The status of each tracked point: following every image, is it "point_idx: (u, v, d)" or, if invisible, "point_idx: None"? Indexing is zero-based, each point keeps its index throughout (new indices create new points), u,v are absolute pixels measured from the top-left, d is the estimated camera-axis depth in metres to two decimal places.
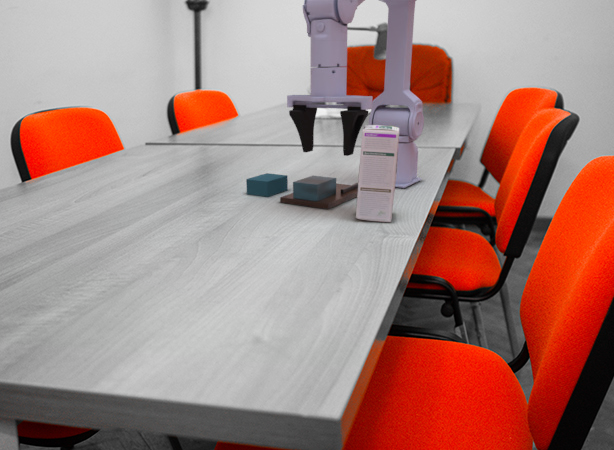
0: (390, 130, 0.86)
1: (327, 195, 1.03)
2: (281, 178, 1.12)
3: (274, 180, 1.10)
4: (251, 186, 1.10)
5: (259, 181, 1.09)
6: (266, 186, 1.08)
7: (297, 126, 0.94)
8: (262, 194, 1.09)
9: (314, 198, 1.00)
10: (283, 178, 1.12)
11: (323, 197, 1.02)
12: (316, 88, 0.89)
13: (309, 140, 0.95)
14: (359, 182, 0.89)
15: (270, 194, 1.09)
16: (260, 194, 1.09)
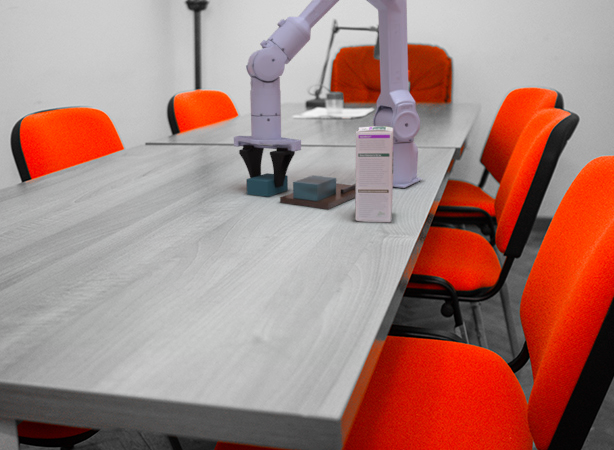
0: (383, 131, 0.86)
1: (327, 195, 1.03)
2: None
3: None
4: (251, 186, 1.10)
5: (259, 181, 1.09)
6: (266, 186, 1.08)
7: (246, 163, 1.12)
8: (262, 194, 1.09)
9: (314, 198, 1.00)
10: None
11: (323, 197, 1.02)
12: (255, 132, 1.07)
13: (257, 174, 1.13)
14: (356, 184, 0.89)
15: (270, 194, 1.09)
16: (260, 194, 1.09)
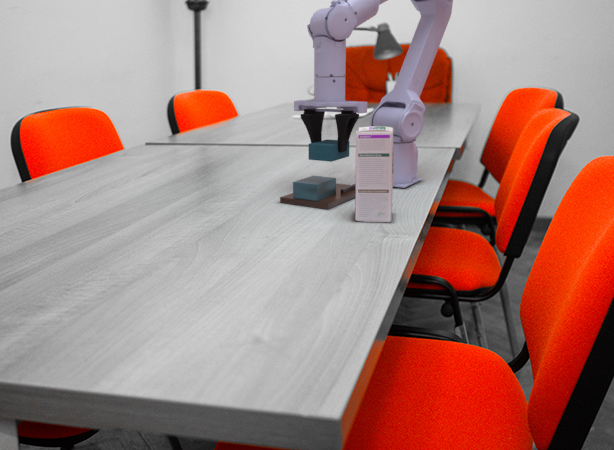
0: (383, 131, 0.86)
1: (327, 195, 1.03)
2: None
3: None
4: (314, 151, 1.06)
5: (323, 145, 1.05)
6: (330, 150, 1.04)
7: (307, 127, 1.08)
8: (326, 159, 1.05)
9: (314, 198, 1.00)
10: None
11: (323, 197, 1.02)
12: (319, 95, 1.04)
13: (318, 140, 1.09)
14: (356, 184, 0.89)
15: (334, 159, 1.05)
16: (323, 159, 1.06)
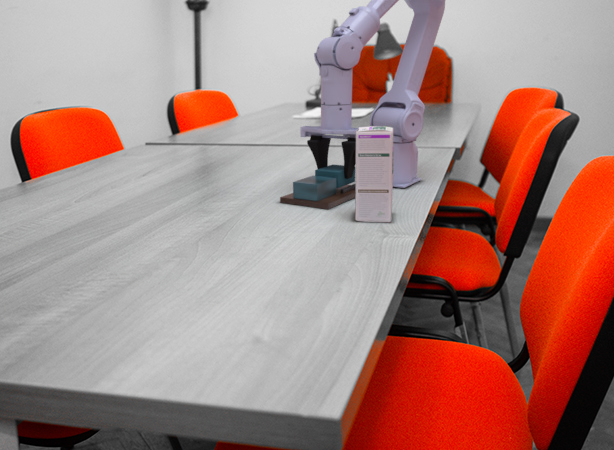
0: (383, 131, 0.86)
1: (327, 195, 1.03)
2: None
3: None
4: None
5: (329, 172, 1.06)
6: (336, 177, 1.05)
7: (314, 154, 1.09)
8: None
9: (314, 198, 1.00)
10: None
11: (323, 197, 1.02)
12: (326, 122, 1.05)
13: (324, 165, 1.11)
14: (356, 184, 0.89)
15: (340, 185, 1.07)
16: None
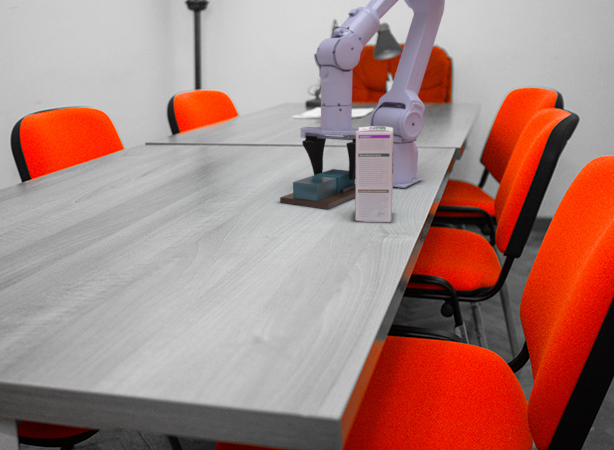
0: (383, 131, 0.86)
1: (327, 195, 1.03)
2: None
3: (344, 176, 1.07)
4: None
5: None
6: (336, 182, 1.06)
7: (309, 154, 1.10)
8: None
9: (314, 198, 1.00)
10: None
11: (323, 197, 1.02)
12: (326, 123, 1.05)
13: (319, 166, 1.11)
14: (356, 184, 0.89)
15: (340, 190, 1.07)
16: None
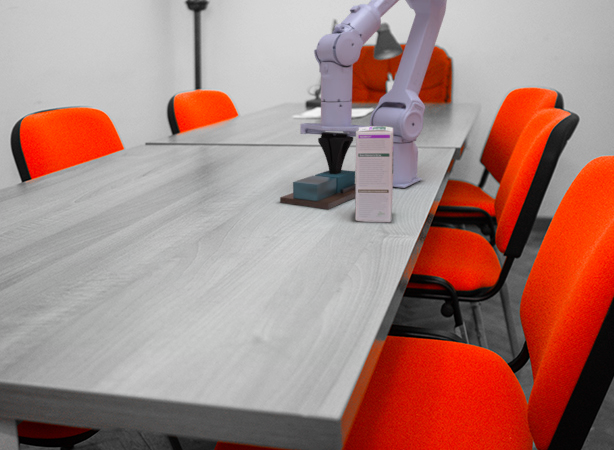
0: (383, 131, 0.86)
1: (327, 195, 1.03)
2: (350, 174, 1.09)
3: (344, 176, 1.07)
4: None
5: None
6: (336, 182, 1.06)
7: (325, 151, 1.08)
8: None
9: (314, 198, 1.00)
10: (351, 174, 1.10)
11: (323, 197, 1.02)
12: (326, 119, 1.05)
13: None
14: (356, 184, 0.89)
15: (340, 190, 1.07)
16: None
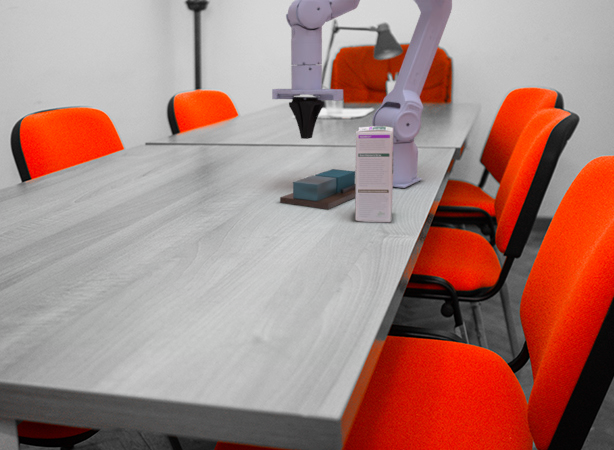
0: (383, 131, 0.86)
1: (327, 195, 1.03)
2: (350, 174, 1.09)
3: (344, 176, 1.07)
4: None
5: None
6: (336, 182, 1.06)
7: (296, 116, 1.08)
8: None
9: (314, 198, 1.00)
10: (351, 174, 1.10)
11: (323, 197, 1.02)
12: (296, 82, 1.06)
13: None
14: (356, 184, 0.89)
15: (340, 190, 1.07)
16: None
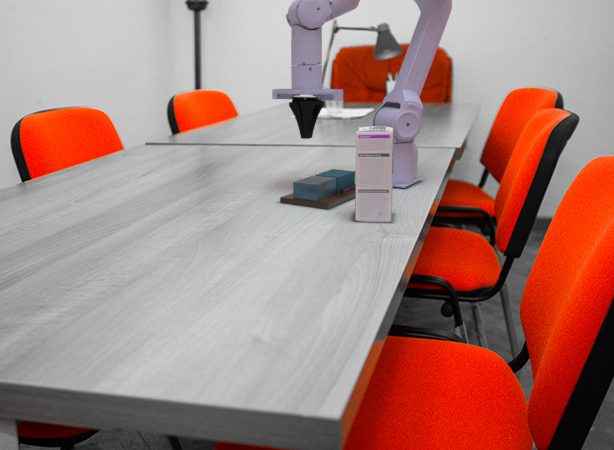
0: (383, 131, 0.86)
1: (327, 195, 1.03)
2: (350, 174, 1.09)
3: (344, 176, 1.07)
4: None
5: None
6: (336, 182, 1.06)
7: (296, 116, 1.08)
8: None
9: (314, 198, 1.00)
10: (351, 174, 1.10)
11: (323, 197, 1.02)
12: (296, 82, 1.06)
13: None
14: (356, 184, 0.89)
15: (340, 190, 1.07)
16: None
